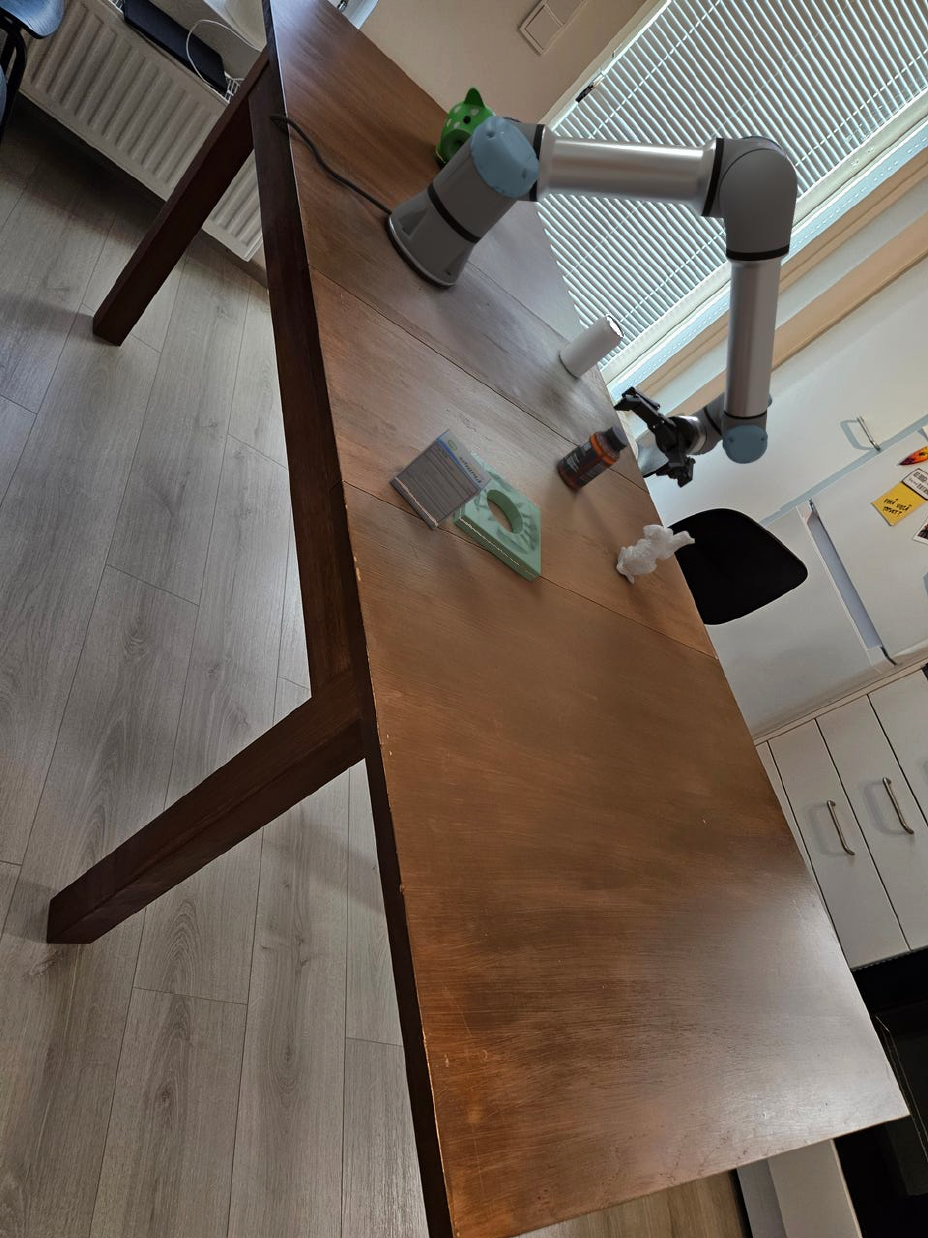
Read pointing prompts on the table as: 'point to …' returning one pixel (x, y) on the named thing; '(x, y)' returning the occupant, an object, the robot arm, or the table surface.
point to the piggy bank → (462, 124)
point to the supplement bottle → (592, 457)
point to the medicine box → (442, 478)
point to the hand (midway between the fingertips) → (641, 436)
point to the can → (592, 345)
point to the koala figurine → (650, 550)
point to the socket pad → (523, 519)
